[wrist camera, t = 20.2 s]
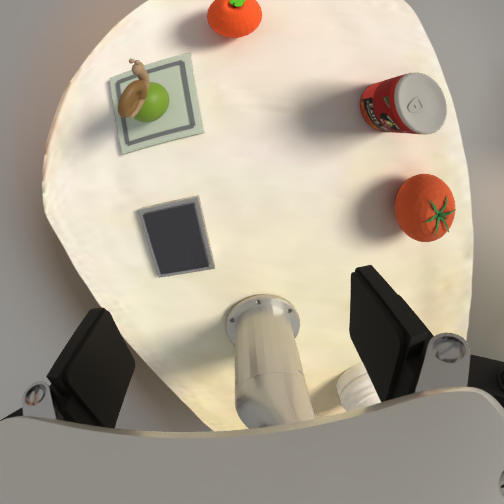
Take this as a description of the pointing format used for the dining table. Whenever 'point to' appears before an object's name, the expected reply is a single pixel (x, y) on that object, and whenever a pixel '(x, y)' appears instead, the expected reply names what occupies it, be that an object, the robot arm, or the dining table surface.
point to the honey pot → (356, 388)
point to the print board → (179, 110)
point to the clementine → (234, 17)
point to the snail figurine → (143, 97)
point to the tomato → (425, 207)
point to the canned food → (405, 105)
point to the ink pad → (177, 237)
